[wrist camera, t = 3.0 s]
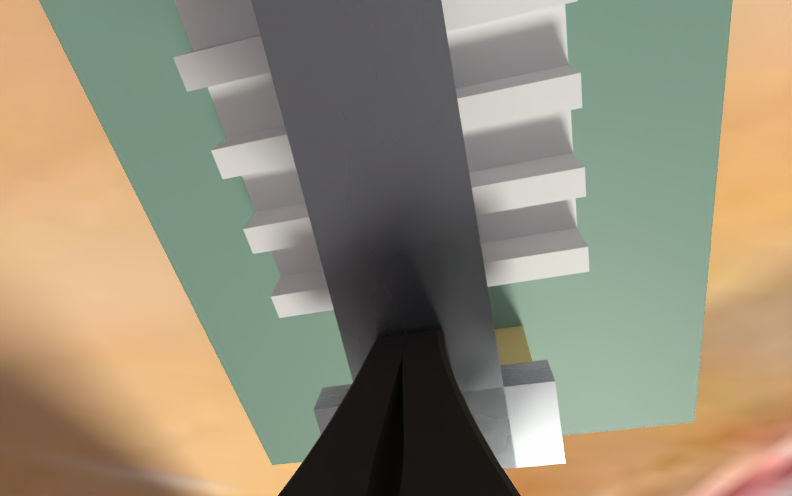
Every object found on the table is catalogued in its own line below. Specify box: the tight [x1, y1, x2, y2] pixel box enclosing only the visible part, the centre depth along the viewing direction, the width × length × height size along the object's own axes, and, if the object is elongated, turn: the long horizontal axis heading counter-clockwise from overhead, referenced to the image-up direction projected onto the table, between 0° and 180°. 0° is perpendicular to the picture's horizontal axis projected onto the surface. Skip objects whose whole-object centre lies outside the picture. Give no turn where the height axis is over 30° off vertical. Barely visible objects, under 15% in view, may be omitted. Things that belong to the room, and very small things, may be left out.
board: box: [39, 0, 732, 465], centre depth 11 cm, size 16×26×5 cm, turn 13°
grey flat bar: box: [251, 0, 565, 469], centre depth 9 cm, size 15×5×2 cm, turn 12°
